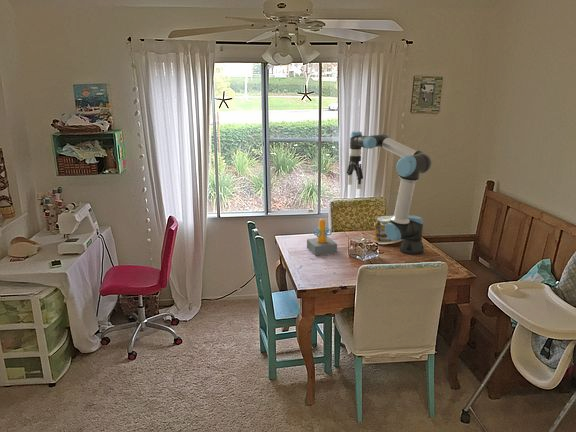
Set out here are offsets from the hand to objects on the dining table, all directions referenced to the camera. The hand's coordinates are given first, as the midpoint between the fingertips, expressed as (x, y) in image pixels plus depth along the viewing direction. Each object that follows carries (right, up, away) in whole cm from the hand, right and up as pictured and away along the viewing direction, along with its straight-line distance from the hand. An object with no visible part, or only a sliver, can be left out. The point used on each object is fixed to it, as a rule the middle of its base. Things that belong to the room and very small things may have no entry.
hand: (354, 186), depth 331 cm
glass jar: (+23, -37, +5) cm, 44 cm away
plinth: (-23, -42, -12) cm, 49 cm away
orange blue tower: (-23, -36, -14) cm, 45 cm away
